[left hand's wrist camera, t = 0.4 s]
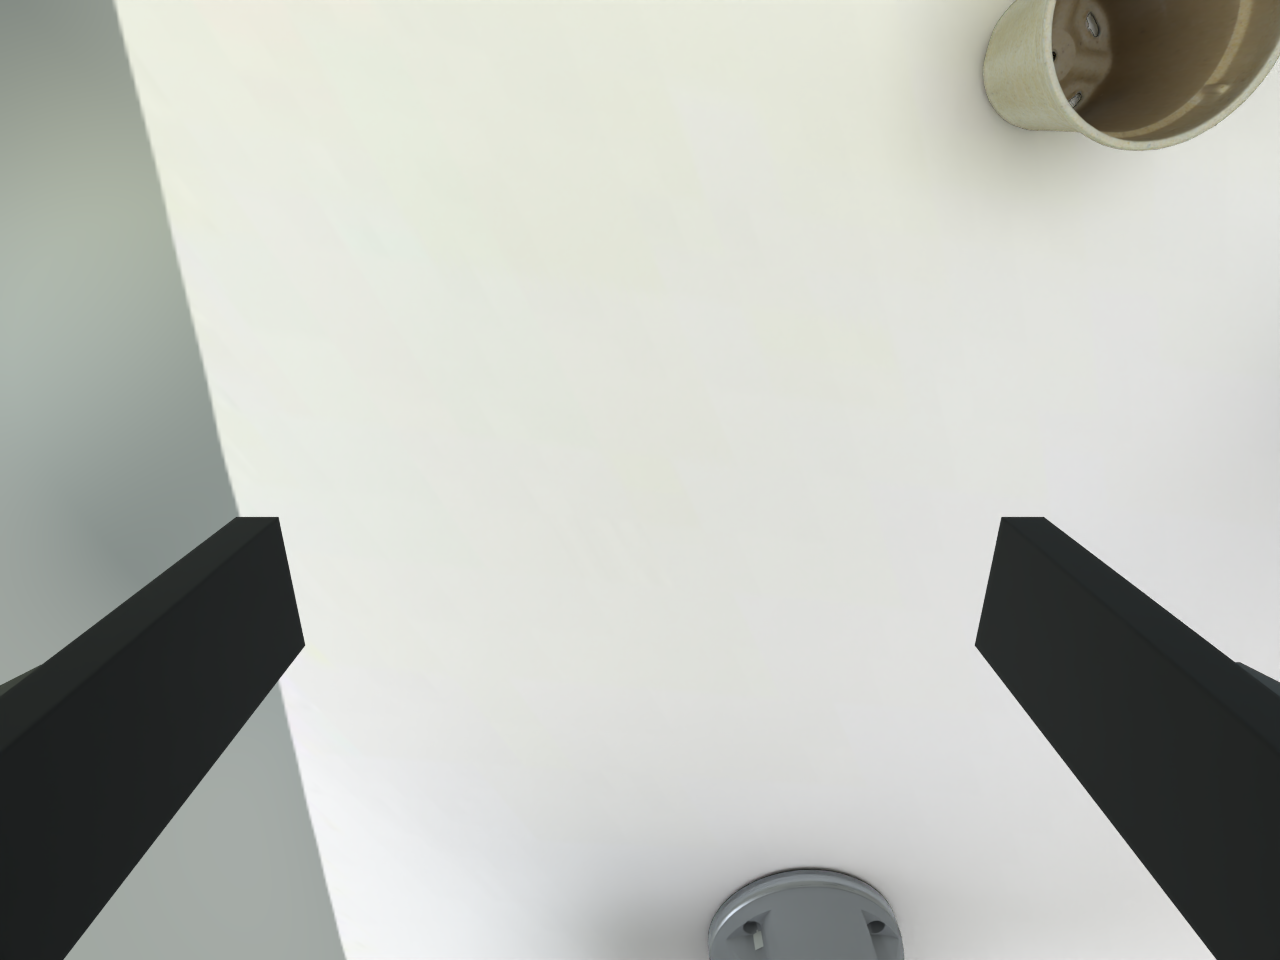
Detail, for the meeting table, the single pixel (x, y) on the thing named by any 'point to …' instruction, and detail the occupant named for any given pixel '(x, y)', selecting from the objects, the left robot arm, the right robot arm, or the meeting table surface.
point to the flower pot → (1129, 66)
